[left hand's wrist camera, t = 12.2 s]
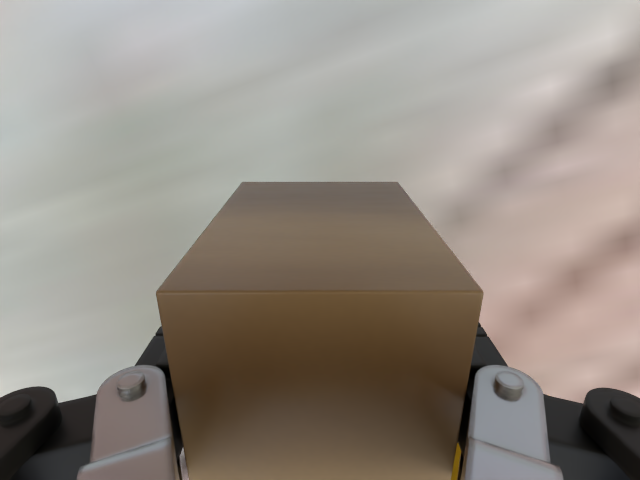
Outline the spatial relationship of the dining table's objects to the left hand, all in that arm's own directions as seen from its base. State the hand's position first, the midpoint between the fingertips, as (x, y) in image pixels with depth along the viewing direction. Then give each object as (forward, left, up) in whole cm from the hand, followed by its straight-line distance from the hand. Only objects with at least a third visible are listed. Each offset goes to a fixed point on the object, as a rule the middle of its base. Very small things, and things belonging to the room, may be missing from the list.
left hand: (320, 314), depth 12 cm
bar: (+9, +4, -4) cm, 10 cm away
